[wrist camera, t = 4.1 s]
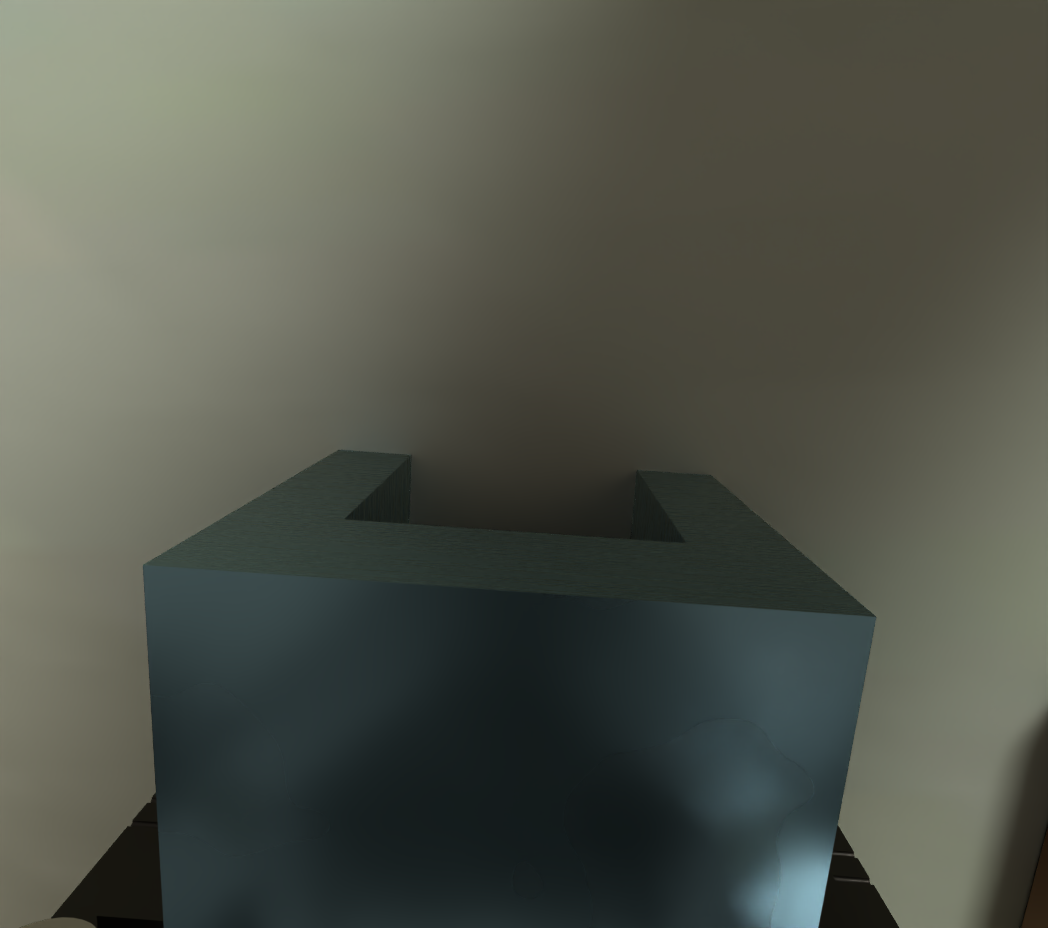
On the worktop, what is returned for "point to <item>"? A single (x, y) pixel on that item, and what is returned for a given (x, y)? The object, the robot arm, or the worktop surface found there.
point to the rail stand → (1039, 894)
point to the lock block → (496, 714)
